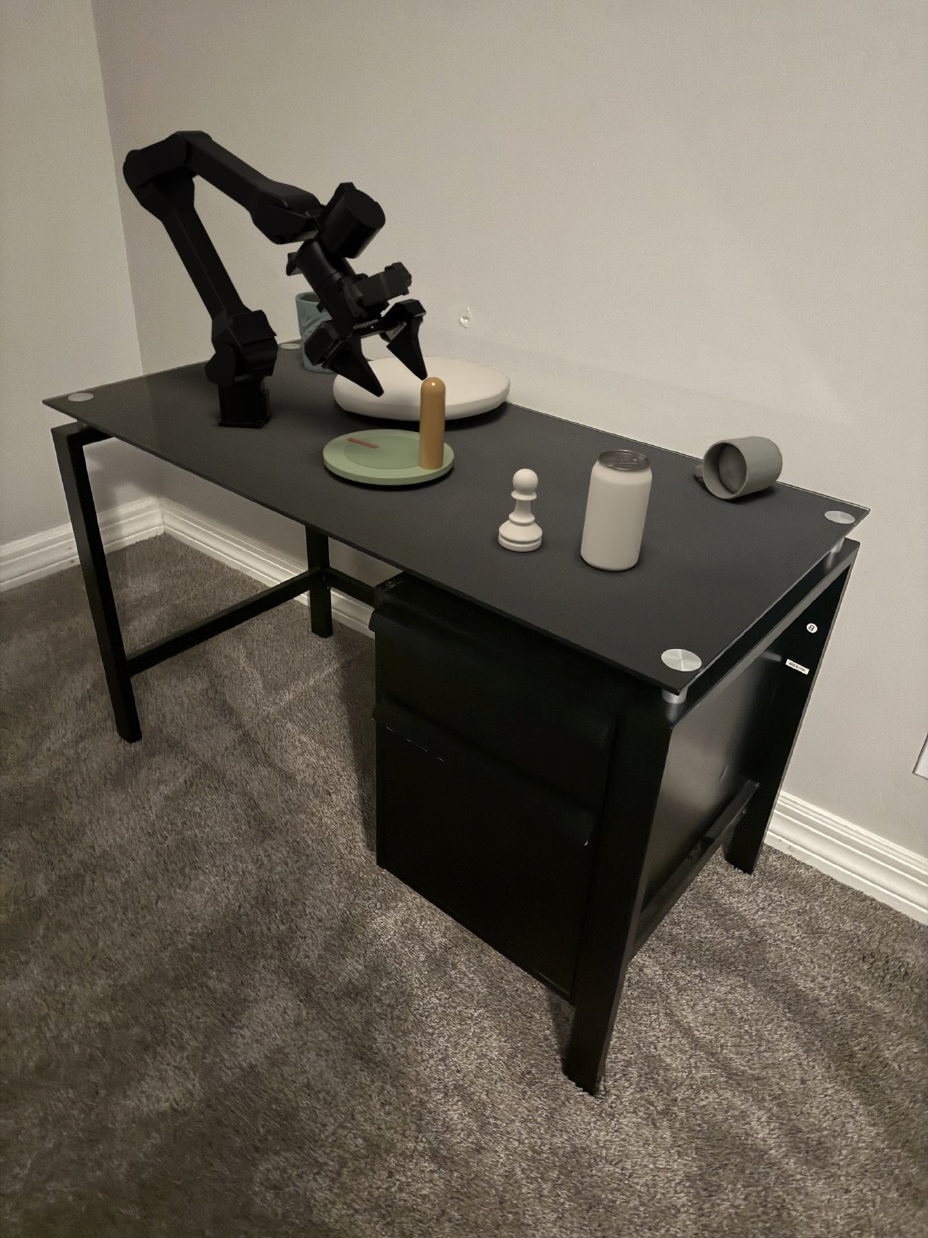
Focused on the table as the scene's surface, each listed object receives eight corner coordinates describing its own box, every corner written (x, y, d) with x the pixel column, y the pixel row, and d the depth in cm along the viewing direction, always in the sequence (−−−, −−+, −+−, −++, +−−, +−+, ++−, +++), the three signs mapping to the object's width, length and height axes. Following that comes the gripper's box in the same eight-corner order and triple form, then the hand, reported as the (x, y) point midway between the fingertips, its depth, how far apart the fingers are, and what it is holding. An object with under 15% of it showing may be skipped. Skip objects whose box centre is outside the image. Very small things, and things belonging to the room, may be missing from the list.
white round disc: (312, 394, 128) (351, 347, 150) (319, 436, 131) (355, 385, 154) (503, 389, 125) (513, 342, 147) (504, 433, 128) (514, 380, 151)
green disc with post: (295, 461, 116) (290, 366, 109) (378, 426, 128) (378, 340, 122) (401, 497, 108) (402, 397, 101) (478, 456, 121) (484, 365, 114)
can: (575, 545, 101) (588, 447, 95) (629, 545, 102) (646, 448, 95) (586, 572, 96) (600, 470, 89) (643, 573, 96) (662, 471, 90)
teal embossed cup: (331, 377, 151) (329, 305, 144) (286, 366, 155) (282, 296, 149) (366, 364, 158) (365, 295, 152) (322, 354, 162) (319, 287, 156)
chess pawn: (539, 533, 103) (547, 462, 99) (542, 553, 99) (550, 480, 94) (497, 531, 103) (503, 460, 98) (498, 551, 99) (504, 477, 94)
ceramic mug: (780, 495, 116) (793, 440, 112) (740, 508, 112) (753, 451, 108) (718, 469, 124) (728, 416, 120) (678, 480, 119) (688, 426, 115)
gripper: (317, 249, 98) (394, 366, 99) (415, 232, 112) (483, 335, 113) (271, 309, 106) (343, 417, 107) (368, 287, 120) (432, 383, 120)
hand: (404, 386), depth 112 cm, fingers open, 9 cm apart
